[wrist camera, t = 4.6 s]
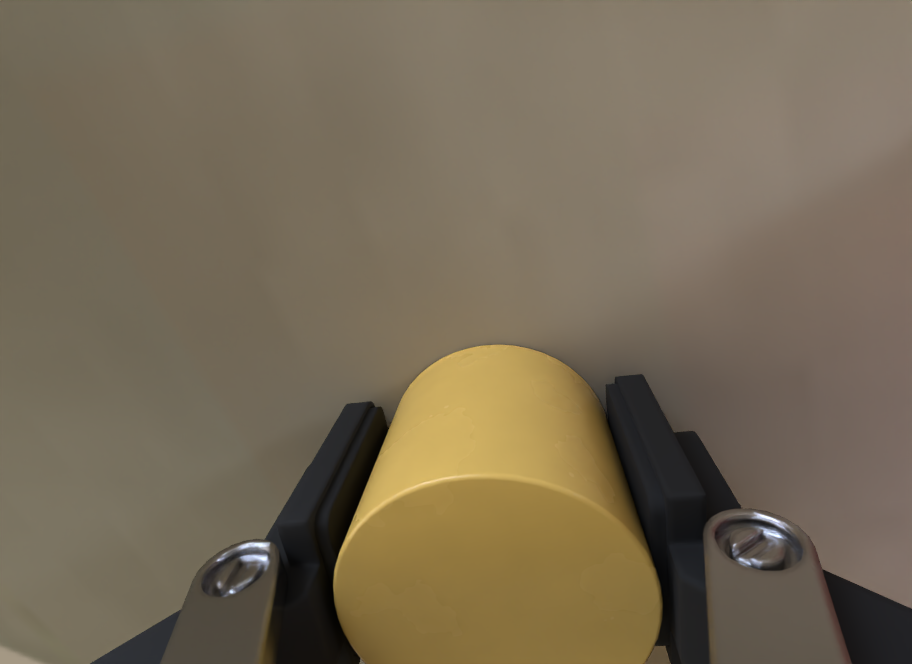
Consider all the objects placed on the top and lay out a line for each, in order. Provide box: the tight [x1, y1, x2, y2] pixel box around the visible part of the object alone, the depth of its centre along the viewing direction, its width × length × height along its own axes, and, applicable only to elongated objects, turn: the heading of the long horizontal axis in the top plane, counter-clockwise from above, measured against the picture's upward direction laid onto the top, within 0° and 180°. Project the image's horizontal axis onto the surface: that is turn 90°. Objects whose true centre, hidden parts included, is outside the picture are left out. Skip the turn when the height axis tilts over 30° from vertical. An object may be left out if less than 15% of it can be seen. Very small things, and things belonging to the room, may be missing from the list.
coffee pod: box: [333, 345, 663, 664], centre depth 10 cm, size 5×5×4 cm
